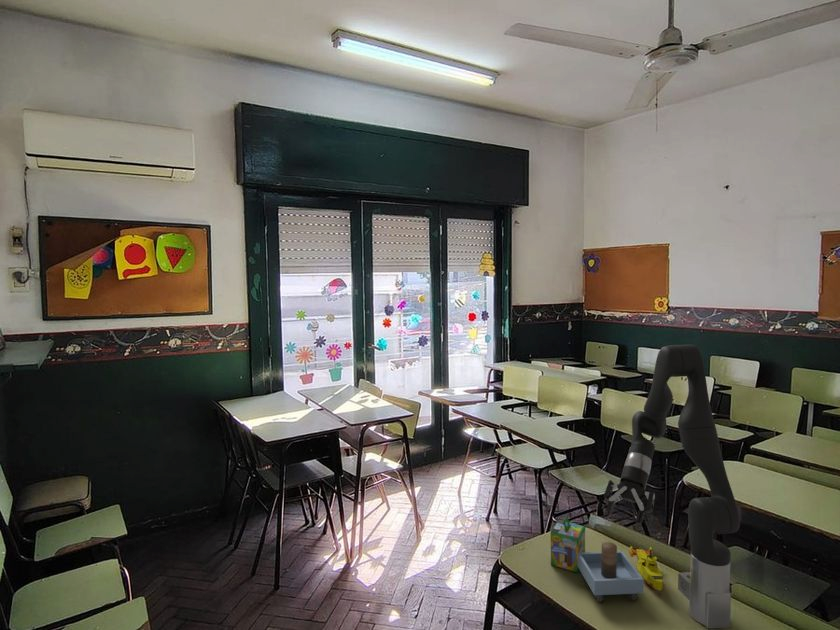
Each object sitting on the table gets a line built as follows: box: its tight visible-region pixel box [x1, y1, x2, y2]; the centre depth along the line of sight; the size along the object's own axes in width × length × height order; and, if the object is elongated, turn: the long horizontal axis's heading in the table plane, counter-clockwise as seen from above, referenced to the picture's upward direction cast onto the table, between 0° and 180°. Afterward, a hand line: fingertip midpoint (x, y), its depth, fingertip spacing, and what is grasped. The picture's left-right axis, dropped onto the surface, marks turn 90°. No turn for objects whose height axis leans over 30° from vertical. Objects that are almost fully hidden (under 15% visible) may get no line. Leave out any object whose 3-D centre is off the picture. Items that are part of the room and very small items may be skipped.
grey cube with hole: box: [677, 571, 690, 601], centre depth 144 cm, size 5×5×5 cm
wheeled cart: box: [577, 550, 645, 603], centre depth 147 cm, size 14×14×7 cm
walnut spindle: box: [601, 541, 618, 579], centre depth 147 cm, size 4×4×9 cm
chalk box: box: [550, 514, 586, 574], centre depth 160 cm, size 9×9×15 cm
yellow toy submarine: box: [629, 546, 664, 591], centre depth 151 cm, size 6×18×10 cm, turn 174°
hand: (623, 519), depth 153 cm, fingers open, 8 cm apart
